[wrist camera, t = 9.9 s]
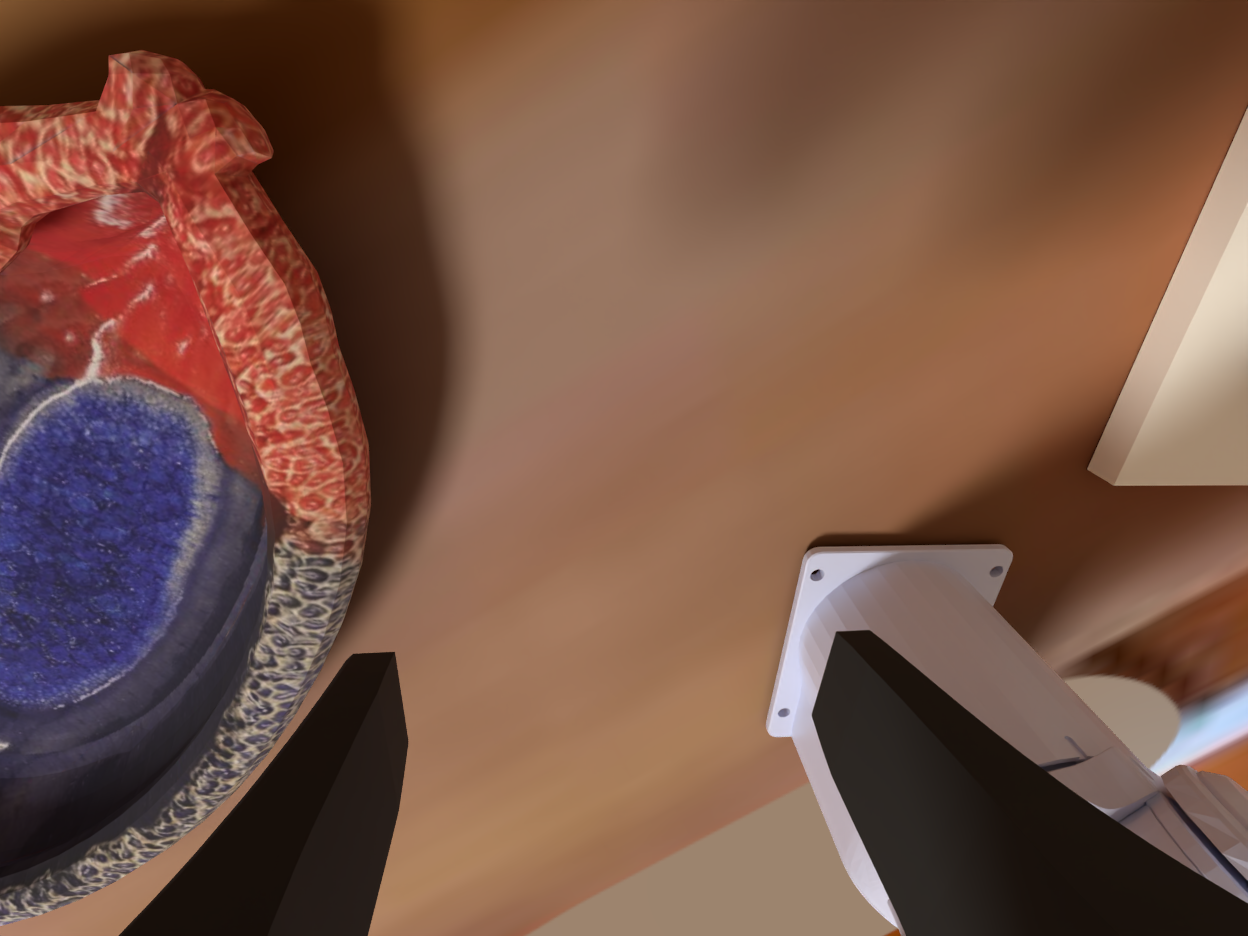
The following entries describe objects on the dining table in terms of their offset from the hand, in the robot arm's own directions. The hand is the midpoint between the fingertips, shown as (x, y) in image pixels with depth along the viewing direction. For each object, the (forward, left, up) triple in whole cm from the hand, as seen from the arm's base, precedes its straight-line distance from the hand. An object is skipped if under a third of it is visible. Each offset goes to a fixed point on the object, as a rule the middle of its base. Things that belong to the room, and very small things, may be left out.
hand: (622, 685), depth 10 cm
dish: (-4, +16, -11) cm, 20 cm away
